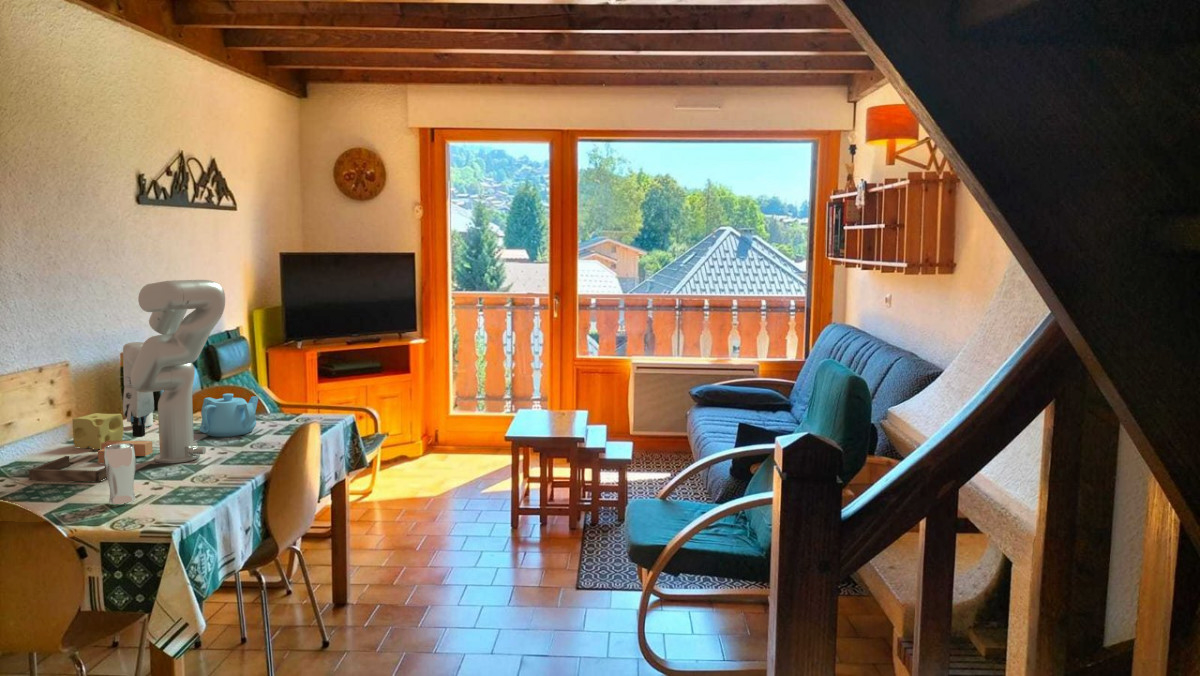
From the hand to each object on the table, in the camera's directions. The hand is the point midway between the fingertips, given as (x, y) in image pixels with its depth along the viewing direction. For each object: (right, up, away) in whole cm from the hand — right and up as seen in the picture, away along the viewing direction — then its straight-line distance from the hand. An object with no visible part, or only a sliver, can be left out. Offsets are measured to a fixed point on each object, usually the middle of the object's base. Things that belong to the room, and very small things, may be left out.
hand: (138, 436), depth 267 cm
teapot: (+19, -2, +25) cm, 31 cm away
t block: (0, -6, -12) cm, 13 cm away
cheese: (-15, -4, +3) cm, 16 cm away
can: (-16, 0, +31) cm, 35 cm away
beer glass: (+26, -11, -54) cm, 61 cm away
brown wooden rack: (0, -7, -29) cm, 30 cm away
